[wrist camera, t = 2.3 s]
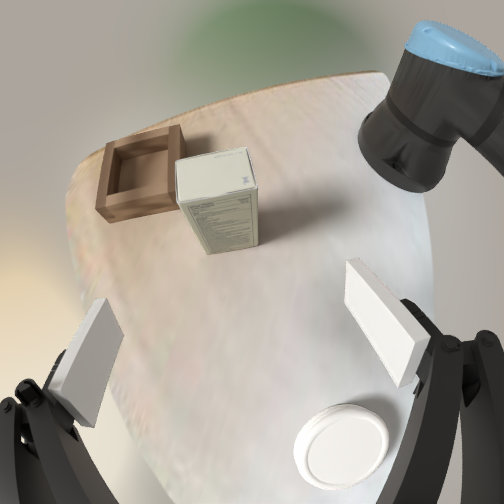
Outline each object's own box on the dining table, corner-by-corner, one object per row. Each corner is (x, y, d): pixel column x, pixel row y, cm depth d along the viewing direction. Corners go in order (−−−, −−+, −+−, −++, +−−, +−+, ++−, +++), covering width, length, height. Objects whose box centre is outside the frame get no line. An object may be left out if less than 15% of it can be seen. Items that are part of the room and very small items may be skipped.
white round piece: (338, 386, 26) (348, 390, 22) (393, 430, 23) (407, 437, 20) (273, 451, 23) (276, 462, 20) (334, 490, 21) (342, 503, 18)
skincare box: (252, 213, 32) (250, 144, 21) (259, 247, 31) (261, 188, 20) (199, 222, 32) (173, 157, 21) (204, 257, 31) (175, 203, 19)
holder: (185, 143, 37) (179, 124, 33) (188, 207, 33) (180, 190, 29) (116, 159, 36) (106, 143, 32) (109, 223, 32) (95, 209, 29)
